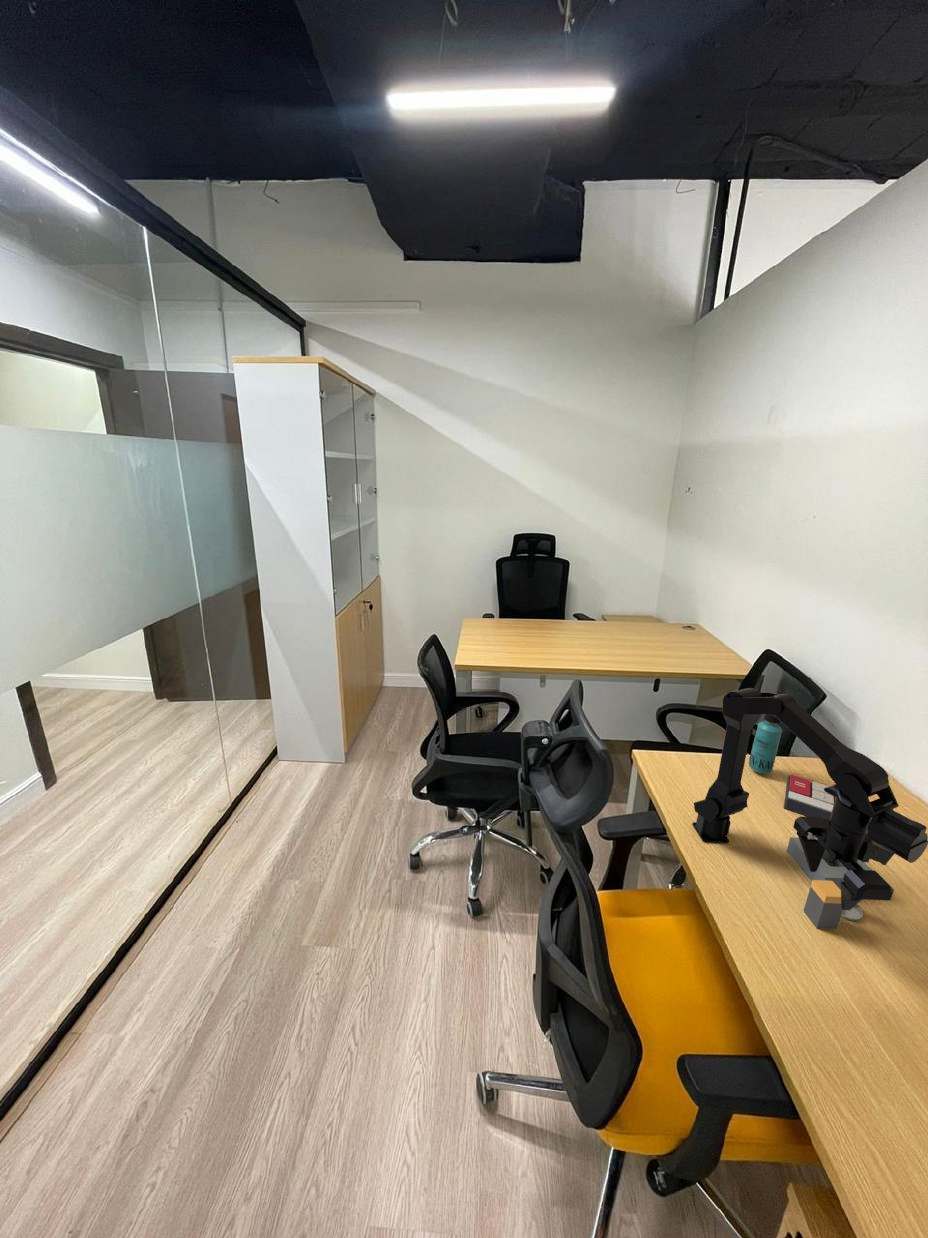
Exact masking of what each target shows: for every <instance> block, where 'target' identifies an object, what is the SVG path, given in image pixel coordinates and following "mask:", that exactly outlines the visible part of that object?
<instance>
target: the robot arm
mask: <svg viewBox="0 0 928 1238" xmlns="http://www.w3.org/2000/svg"><path fill="white" fill-rule="evenodd" d="M765 714H772V715H775V716H776V717H777V718H778V719H779V720H780V723H782V724H783V725H784V726H785V727H786V728H788V730H789V731H790V732H792V733H793V734H794V736H796V737H797V738H798V739H799V740H800V741H801V742H802V743H804V745H805V746H806V747H807V748H808V749H809V750H811V752H813V753H814V755H816V756H817V757H818V759H820V761H821V762H822V763H823V765H824V766H825V769H826V772H827V774H828V776H829V777H830V779H831V780H832V781H833V783H834V784H832V785H828V786H829V787H826V788H824V791H825V792H827V793H829V794H830V795H832V796H834V797H835V802H834V806H833V809H832V812H831V816H830V819H822V818H821V817H806V816H802V815H800V816H799V817H797V818H795V819H794V822H793V823H794V824H793V826H792V828H793V829H794V830H795V831H796V835H797V838H799V839H800V842H801V845H802V848H803V850H804V854H805V857H806V860H807V863H808V866H809V870H810V871H811V872H816V871H817V869H818V867H819V865H820V862H821V859H822V856H823V854H824V851H825V850H826V851H827V852H828V853H829V854H830V855H831V856H832V857H833V858H834V859H838V860H839V861H840V862H841V863H842V864H843V865H844V866H845V868H846V869H847V870H848V872H846V873H845V874H844V877H843V879H844V882H841V905H842V909H843V910H850V909H851V908H852V907H854V906H855V905H856V904H858V903H860V902H861V901H863V900H870V901H871V900H873V901H891V900H892V897H893V895H894V890H895V889H894V888H893V887H892V886H891V884H890V883H889V882H887V881H886V880H885V879H884V878H883V877H882V876H881V875H880V874H879V872H877V871H876V870H873V869H872V870H864V869H863V868H862V867H861V866H860V865H859V864H858V863H857V861H858V860H861V861H862V862H864V863H869V862H870V860H872V861H875V862H877V863H880V864H881V866H886V865H887V864H888V862H889V861H891V859H892V857H894V855H896V856H898V857H900V858H902V859H903V860H905V861H906V862H907V863H910V864H911V863H915V862H917V860H919V859H920V857H921V856H922V855H923V854H924V852H925V851H926V849H927V847H928V834H927V833H926V831H927V830H928V829H927V828H928V827H927V826H926V825H924V824H922V823H921V822H919V821H915V820H913V819H910V818H908V817H906V816H905V815H903V814H901V813H899V812H897V811H896V810H894V809H897V808H899V807H900V806H899V803H898V800H897V799H896V797H895V795H894V792H893V790H892V787H891V786H890V779H889V774H888V773H887V771H886V770H885V768H884V767H882V766H881V765H880V764H878V763H877V762H875V761H874V760H873V759H871V758H870V757H868V756H866V755H865V754H863V753H862V752H859V751H856V750H854V749H852V748H850V747H848V746H846V745H845V744H844V743H842V741H840V740H839V739H838V738H837V737H836V736H835V735H833V733H832V732H830V731H829V730H828V729H827V728H826V727H824V726H823V724H821V723H820V722H819V721H818V720H817V719H816V718H814V716H812V715H811V714H810V713H809V712H808V711H807V710H805V708H804V707H802V706H801V705H800V704H799V703H798V702H797V701H796V699H795V697H794V696H792V695H791V694H788V693H781V694H780V693H774V692H766V691H760V690H758V689H756V688H752V687H748V688H747V687H746V688H742V689H737V690H733V691H729V692H727V693H726V694H724V696H723V698H722V716H723V718H724V720H725V723H726V729H725V735H724V739H723V745H722V751H721V756H720V761H719V767H718V771H717V778H716V779H715V780H714V782H713V783H712V784H711V785H710V787H709V788H708V790H707V793H706V795H705V798H704V799H702V800H698V801H695V802H693V808H694V812H695V813H697V816H696V821H694V822H692V825H691V826H692V827H693V828H694V830H695V831H696V833H697V835H698V837H699V838H700V840H701V841H702V842H703V843H721V844H728V843H730V839H729V838H728V836H729V831H730V828H731V827H730V826H731V823H732V822H731V815H735V814H737V813H741V812H743V811H744V809H746V808H748V799H749V797H750V792H748V791H746V790H744V788H743V785H742V777H743V773H744V772H743V771H744V769H745V764H746V758H747V752H748V749H749V743H750V742H749V741H750V737H751V733H752V729H753V728H754V727H755V726H756V723H757V724H758V721H759V720H760V719H761V717H762V715H765ZM875 795H877V797H878V798H875V800H871V801H870V798H871V797H872V796H875Z"/></svg>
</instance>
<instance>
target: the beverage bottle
mask: <svg viewBox="0 0 928 1238" xmlns="http://www.w3.org/2000/svg"><path fill="white" fill-rule="evenodd" d="M763 719H764V720H763V721H760V722H757V728H756V732H755V736H754V738H753V739H754V740H753V742H752V747H751V750H750V755H749V759H748V766H749V768H750V769H751V770H753V771H755V772H757V773H759V774H766V775H767V774H771V773H772V772H773V770H774V767H775V764H776V758H777V755H778V754H777V753H778V750H779V745H780V740H781V737H782V733H783V729H782V727H781V726H780V725H779V724H780V723H781V721H780V720H779V719H778V718H777V717H776V716H775V715H772V714H764V716H763Z"/></svg>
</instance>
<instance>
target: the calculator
mask: <svg viewBox="0 0 928 1238" xmlns="http://www.w3.org/2000/svg"><path fill="white" fill-rule="evenodd" d="M829 786H830V785H826V784H823V783H819V782H817V781H811V780H810V779H807V778H803V777H800V776H797V775H793V774H790V775H788V776H787V781H786V787H785V793H784V794H785V796H784V802H783V809H784V810H787V811H789V812H790V813H791V812H792V813H795V814H797V815H800V816H802V817H821V818H822V819H830V816H831V812H832V809H833V806H834V802H835V799H836V797H834V796H832V795H830V794H829V793H827V792H825V791H824V788H826V787H829Z"/></svg>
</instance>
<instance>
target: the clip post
mask: <svg viewBox="0 0 928 1238" xmlns="http://www.w3.org/2000/svg"><path fill="white" fill-rule="evenodd" d="M863 915H864V912H863V909H862V908H861V907H860V906H859V904H858V903H857V904H856V905H855V906H854V907H852V908H851V909H850V910H843V911H842V915H841V918H843V919H845V920H847V921H850V922H860V921H861V920H862V919H863Z"/></svg>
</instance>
